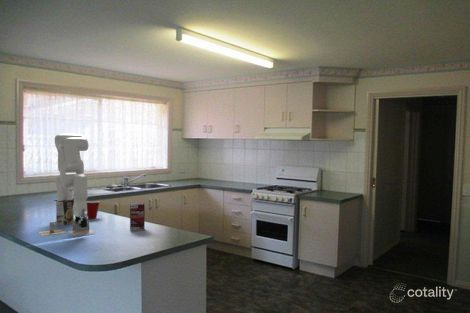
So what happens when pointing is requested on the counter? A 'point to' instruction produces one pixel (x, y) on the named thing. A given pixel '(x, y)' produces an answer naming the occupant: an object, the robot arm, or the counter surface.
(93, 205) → the plastic cup
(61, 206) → the coffee box
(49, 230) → the rod stand
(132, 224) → the supplement box
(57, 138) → the robot arm
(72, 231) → the hub
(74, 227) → the collar
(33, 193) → the counter surface
